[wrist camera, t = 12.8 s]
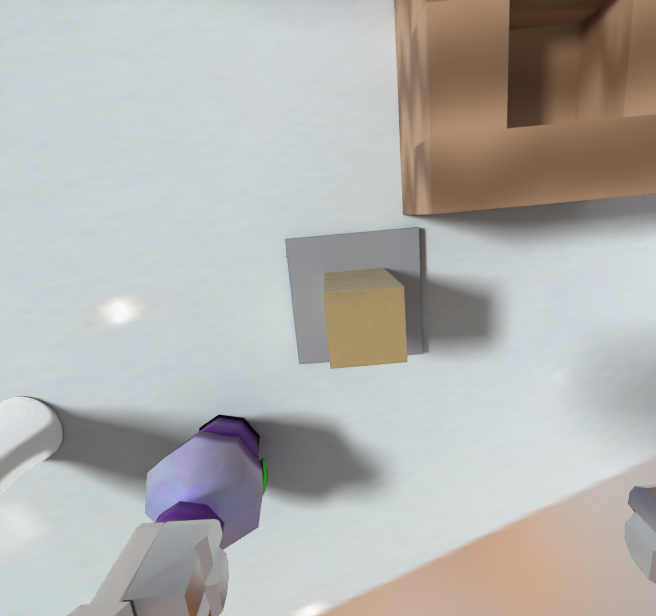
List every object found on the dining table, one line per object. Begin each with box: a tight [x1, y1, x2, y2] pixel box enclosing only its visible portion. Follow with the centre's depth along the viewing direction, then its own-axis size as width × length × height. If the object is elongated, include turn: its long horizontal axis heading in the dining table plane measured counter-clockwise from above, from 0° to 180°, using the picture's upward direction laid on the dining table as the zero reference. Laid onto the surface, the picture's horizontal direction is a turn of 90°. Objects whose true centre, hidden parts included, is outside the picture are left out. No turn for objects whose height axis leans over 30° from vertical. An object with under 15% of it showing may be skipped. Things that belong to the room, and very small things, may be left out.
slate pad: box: [285, 227, 423, 364], centre depth 30 cm, size 10×10×1 cm
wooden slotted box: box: [394, 0, 656, 215], centre depth 23 cm, size 14×14×8 cm
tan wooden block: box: [323, 268, 407, 369], centre depth 25 cm, size 4×4×8 cm
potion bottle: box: [145, 415, 268, 550], centre depth 27 cm, size 9×9×12 cm
